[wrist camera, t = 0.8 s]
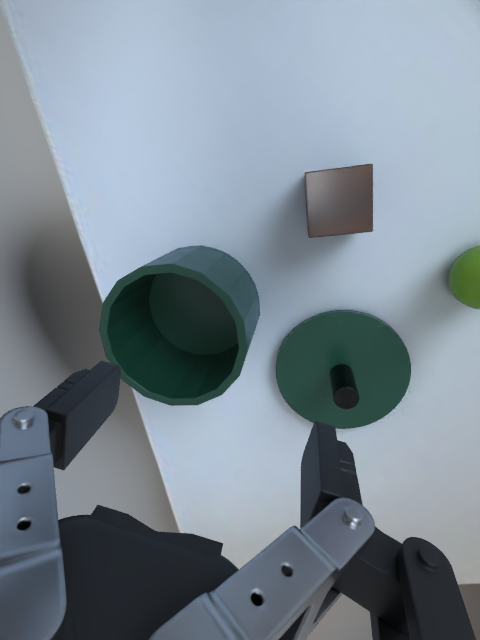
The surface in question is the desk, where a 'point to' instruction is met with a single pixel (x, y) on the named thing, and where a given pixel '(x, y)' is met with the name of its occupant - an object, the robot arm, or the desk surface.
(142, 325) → the canister
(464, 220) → the desk surface
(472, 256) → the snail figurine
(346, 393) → the lid
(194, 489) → the desk surface
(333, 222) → the block
